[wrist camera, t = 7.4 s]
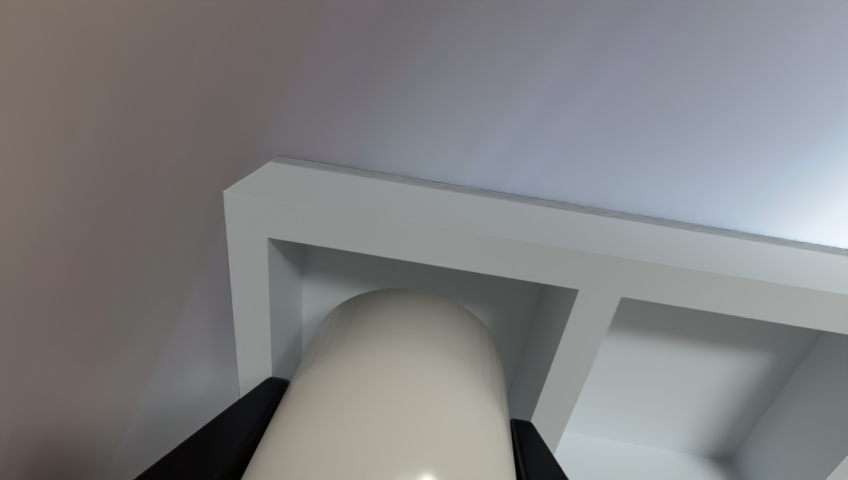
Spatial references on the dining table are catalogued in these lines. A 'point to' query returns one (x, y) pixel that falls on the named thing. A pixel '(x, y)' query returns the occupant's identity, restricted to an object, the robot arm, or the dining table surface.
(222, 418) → the robot arm
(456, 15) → the dining table surface
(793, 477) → the divided compartment tray
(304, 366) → the white capsule shape
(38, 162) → the dining table surface
